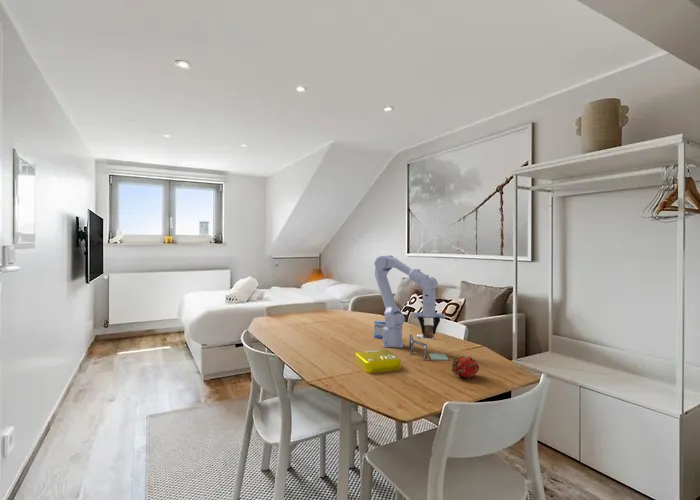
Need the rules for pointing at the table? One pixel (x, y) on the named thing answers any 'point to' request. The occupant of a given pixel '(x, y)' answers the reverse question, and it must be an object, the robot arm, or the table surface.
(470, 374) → the dragon fruit
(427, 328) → the brown domed cylinder
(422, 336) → the teacup and saucer
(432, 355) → the pad
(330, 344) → the table surface
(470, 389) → the table surface
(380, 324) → the medicine box
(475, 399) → the table surface
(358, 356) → the element tile
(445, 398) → the table surface
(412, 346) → the buzz wire
